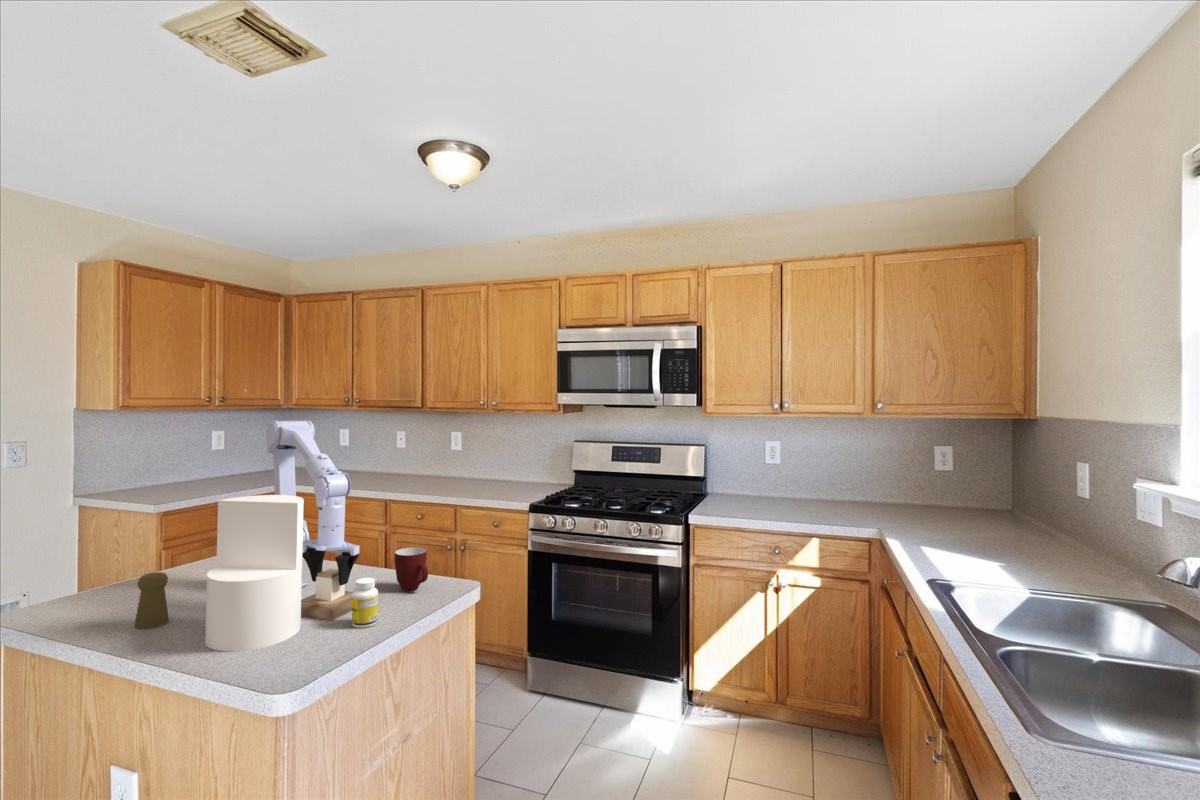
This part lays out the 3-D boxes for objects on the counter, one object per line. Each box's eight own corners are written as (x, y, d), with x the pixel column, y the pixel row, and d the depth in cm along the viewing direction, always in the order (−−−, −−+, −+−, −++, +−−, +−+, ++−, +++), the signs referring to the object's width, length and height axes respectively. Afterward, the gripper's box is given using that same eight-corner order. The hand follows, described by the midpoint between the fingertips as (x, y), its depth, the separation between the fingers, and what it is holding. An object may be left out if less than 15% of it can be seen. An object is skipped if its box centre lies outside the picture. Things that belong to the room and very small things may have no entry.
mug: (439, 588, 151) (440, 551, 151) (417, 597, 144) (418, 558, 144) (409, 582, 155) (410, 546, 156) (386, 590, 148) (387, 552, 148)
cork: (130, 631, 120) (131, 579, 120) (138, 621, 125) (139, 571, 125) (166, 626, 123) (167, 575, 123) (171, 616, 128) (173, 568, 128)
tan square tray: (295, 615, 131) (295, 601, 131) (327, 600, 140) (327, 588, 140) (331, 620, 128) (331, 606, 128) (361, 605, 137) (361, 592, 137)
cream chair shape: (241, 616, 129) (244, 493, 129) (316, 619, 129) (319, 496, 129) (183, 649, 112) (187, 508, 112) (269, 653, 111) (272, 511, 111)
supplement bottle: (351, 621, 128) (352, 577, 128) (377, 617, 130) (378, 575, 130) (351, 630, 123) (352, 585, 123) (378, 626, 125) (379, 582, 125)
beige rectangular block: (315, 598, 133) (316, 573, 133) (329, 592, 137) (329, 568, 137) (331, 601, 131) (331, 575, 131) (344, 594, 136) (345, 569, 136)
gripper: (293, 525, 132) (291, 583, 132) (345, 531, 128) (343, 591, 128) (315, 519, 139) (314, 575, 139) (366, 524, 135) (364, 581, 135)
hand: (329, 582), depth 134 cm, fingers open, 7 cm apart
